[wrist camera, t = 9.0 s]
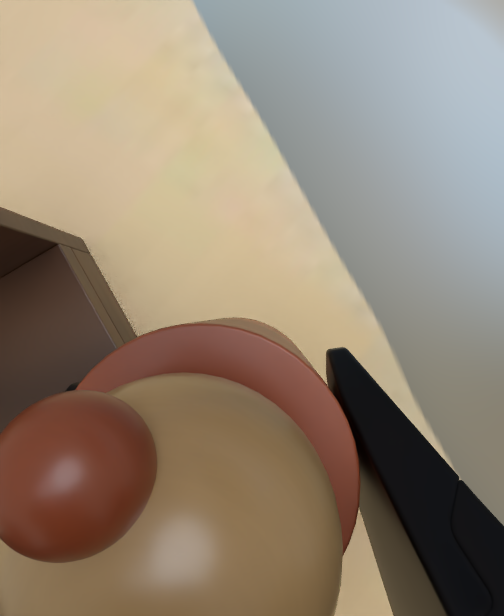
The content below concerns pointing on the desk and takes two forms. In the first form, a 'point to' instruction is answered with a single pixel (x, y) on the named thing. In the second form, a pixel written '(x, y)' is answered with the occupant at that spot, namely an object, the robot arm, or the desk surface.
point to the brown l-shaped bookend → (50, 313)
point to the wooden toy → (181, 483)
